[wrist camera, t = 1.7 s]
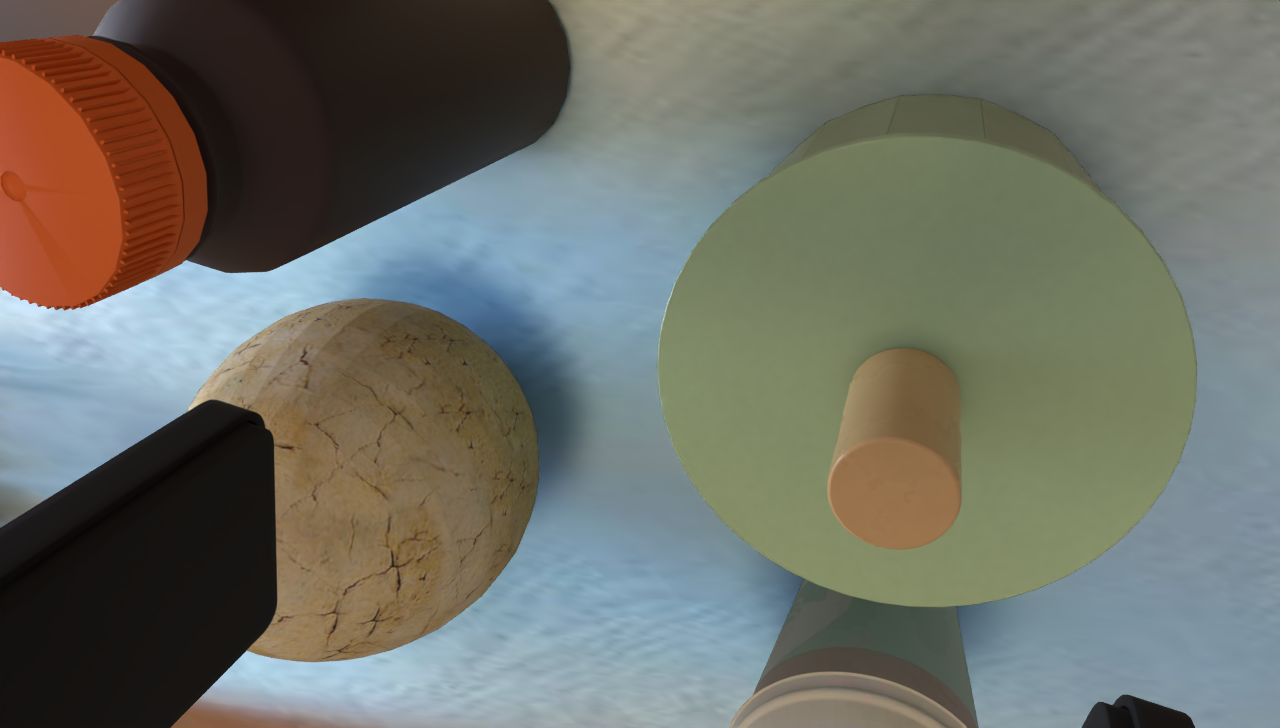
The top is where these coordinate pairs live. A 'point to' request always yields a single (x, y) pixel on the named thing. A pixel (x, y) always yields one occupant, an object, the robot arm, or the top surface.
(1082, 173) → the green pot
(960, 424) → the green lid
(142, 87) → the bottle
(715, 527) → the top surface
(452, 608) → the fossilized egg
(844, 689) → the coffee cup
